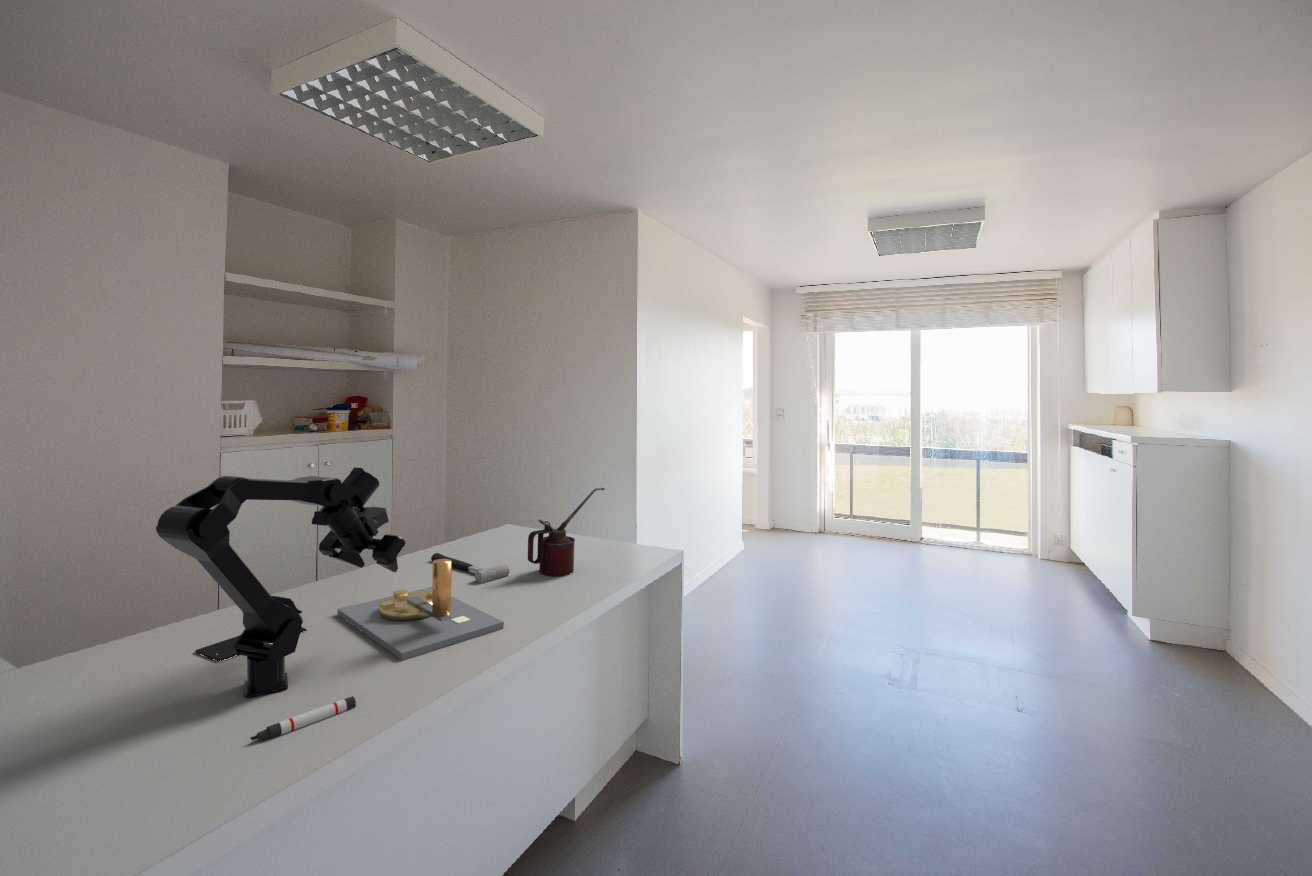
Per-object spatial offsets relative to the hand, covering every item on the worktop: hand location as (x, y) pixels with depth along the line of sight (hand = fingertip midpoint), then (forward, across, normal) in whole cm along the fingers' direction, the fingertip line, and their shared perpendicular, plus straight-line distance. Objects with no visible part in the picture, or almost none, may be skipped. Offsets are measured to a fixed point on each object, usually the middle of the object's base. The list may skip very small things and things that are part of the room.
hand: (379, 568), depth 132 cm
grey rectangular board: (+16, -5, +3) cm, 17 cm away
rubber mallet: (+40, +10, -27) cm, 50 cm away
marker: (-10, -17, +36) cm, 41 cm away
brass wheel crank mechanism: (+14, -6, +2) cm, 15 cm away
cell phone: (+3, +20, +21) cm, 29 cm away
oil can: (+48, -19, -38) cm, 64 cm away
